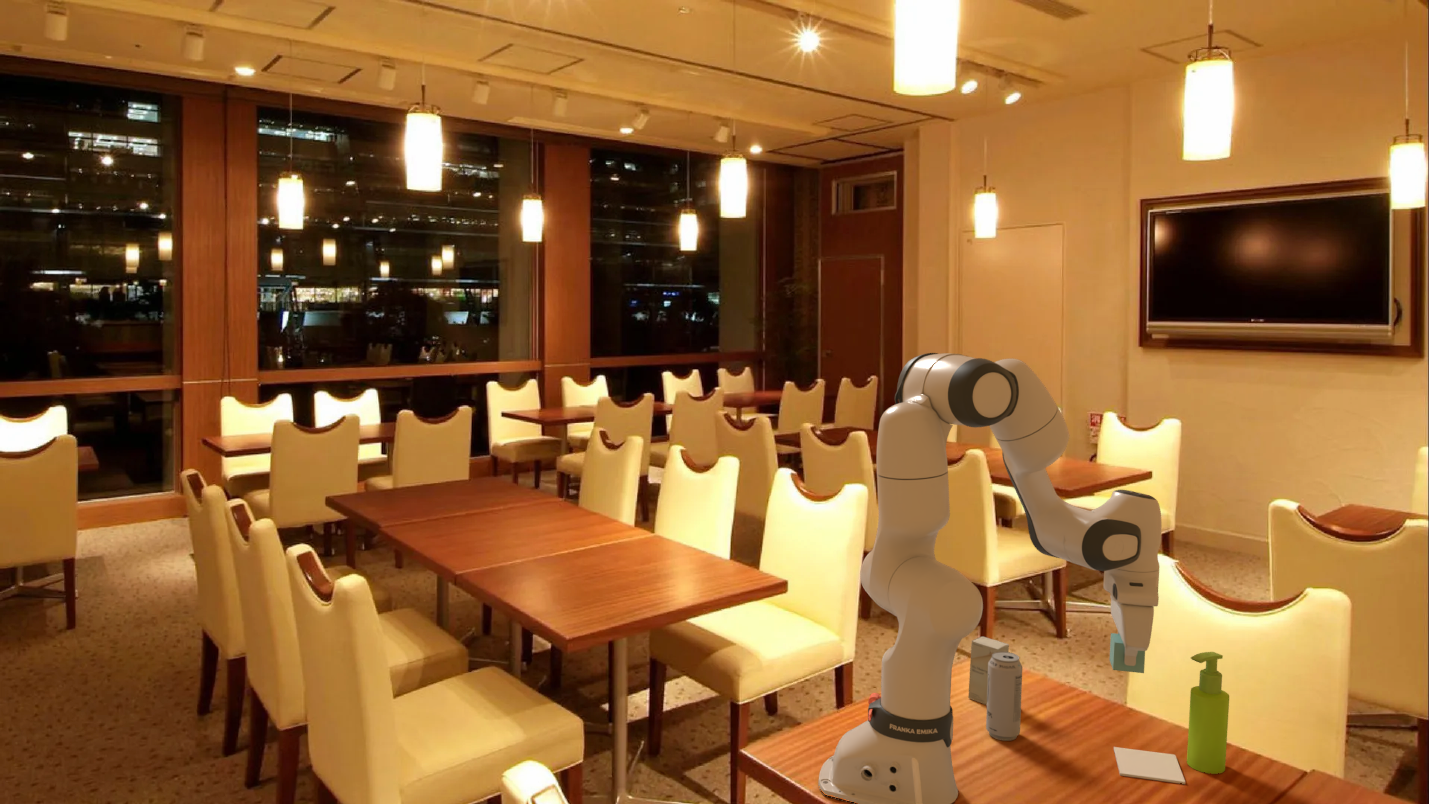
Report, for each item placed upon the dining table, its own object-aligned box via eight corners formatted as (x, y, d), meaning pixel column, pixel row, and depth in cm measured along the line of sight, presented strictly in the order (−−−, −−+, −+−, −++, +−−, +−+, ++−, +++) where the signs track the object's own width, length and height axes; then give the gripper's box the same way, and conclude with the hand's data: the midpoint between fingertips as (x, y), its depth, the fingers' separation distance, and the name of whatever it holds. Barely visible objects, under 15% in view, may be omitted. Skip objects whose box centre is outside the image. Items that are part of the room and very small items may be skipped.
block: (1113, 670, 166) (1114, 642, 166) (1109, 659, 171) (1110, 633, 170) (1143, 673, 165) (1145, 645, 164) (1139, 663, 170) (1140, 635, 169)
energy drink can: (988, 725, 179) (991, 648, 177) (1021, 731, 176) (1024, 653, 175) (983, 738, 173) (986, 659, 172) (1017, 744, 171) (1020, 664, 169)
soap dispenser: (1174, 762, 164) (1180, 650, 162) (1203, 755, 167) (1210, 645, 165) (1203, 777, 159) (1209, 662, 157) (1233, 770, 162) (1239, 657, 160)
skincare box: (967, 698, 191) (969, 640, 190) (979, 692, 194) (981, 635, 193) (995, 708, 186) (997, 648, 185) (1007, 702, 189) (1009, 643, 188)
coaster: (1120, 775, 160) (1120, 773, 160) (1113, 748, 169) (1113, 746, 169) (1185, 784, 157) (1185, 781, 157) (1174, 756, 166) (1175, 754, 166)
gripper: (1104, 564, 177) (1100, 636, 178) (1119, 596, 157) (1115, 676, 159) (1140, 567, 175) (1136, 639, 177) (1160, 600, 156) (1156, 681, 157)
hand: (1126, 657), depth 168 cm, fingers closed on block, 5 cm apart
